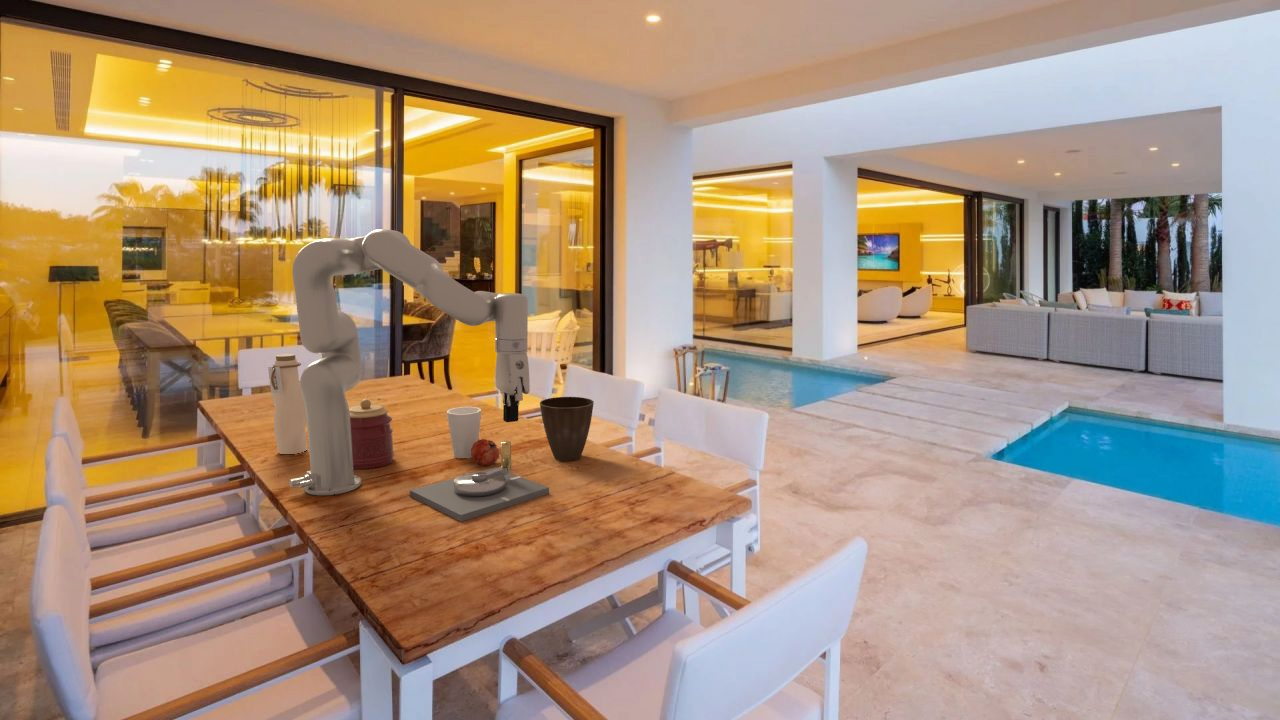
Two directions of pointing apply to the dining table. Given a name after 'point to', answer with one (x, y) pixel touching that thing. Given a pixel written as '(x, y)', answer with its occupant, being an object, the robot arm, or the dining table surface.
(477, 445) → the pomegranate
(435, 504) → the base
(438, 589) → the dining table surface
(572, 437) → the plant pot
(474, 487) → the crank handle
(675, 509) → the dining table surface
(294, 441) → the water bottle
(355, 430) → the canister
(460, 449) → the foam cup
